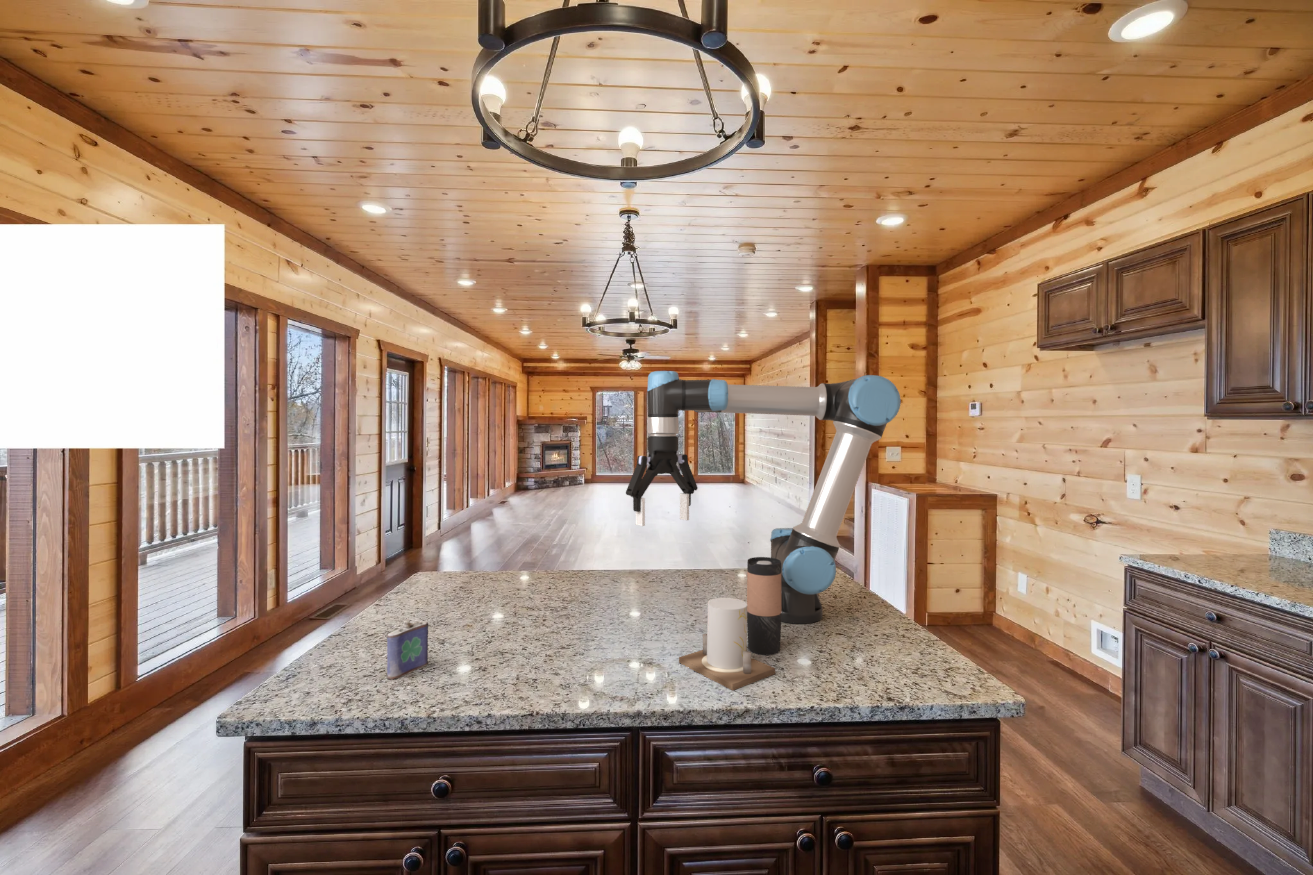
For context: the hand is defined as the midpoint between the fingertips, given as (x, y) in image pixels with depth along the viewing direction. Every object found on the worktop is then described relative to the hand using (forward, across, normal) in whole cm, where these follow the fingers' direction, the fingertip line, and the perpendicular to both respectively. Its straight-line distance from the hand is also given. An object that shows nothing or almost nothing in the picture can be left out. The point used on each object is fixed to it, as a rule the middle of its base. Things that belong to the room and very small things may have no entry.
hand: (662, 522), depth 140 cm
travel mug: (+27, -11, +23) cm, 37 cm away
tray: (+27, +3, +25) cm, 37 cm away
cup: (+25, +3, +25) cm, 36 cm away
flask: (+27, +56, -14) cm, 63 cm away
